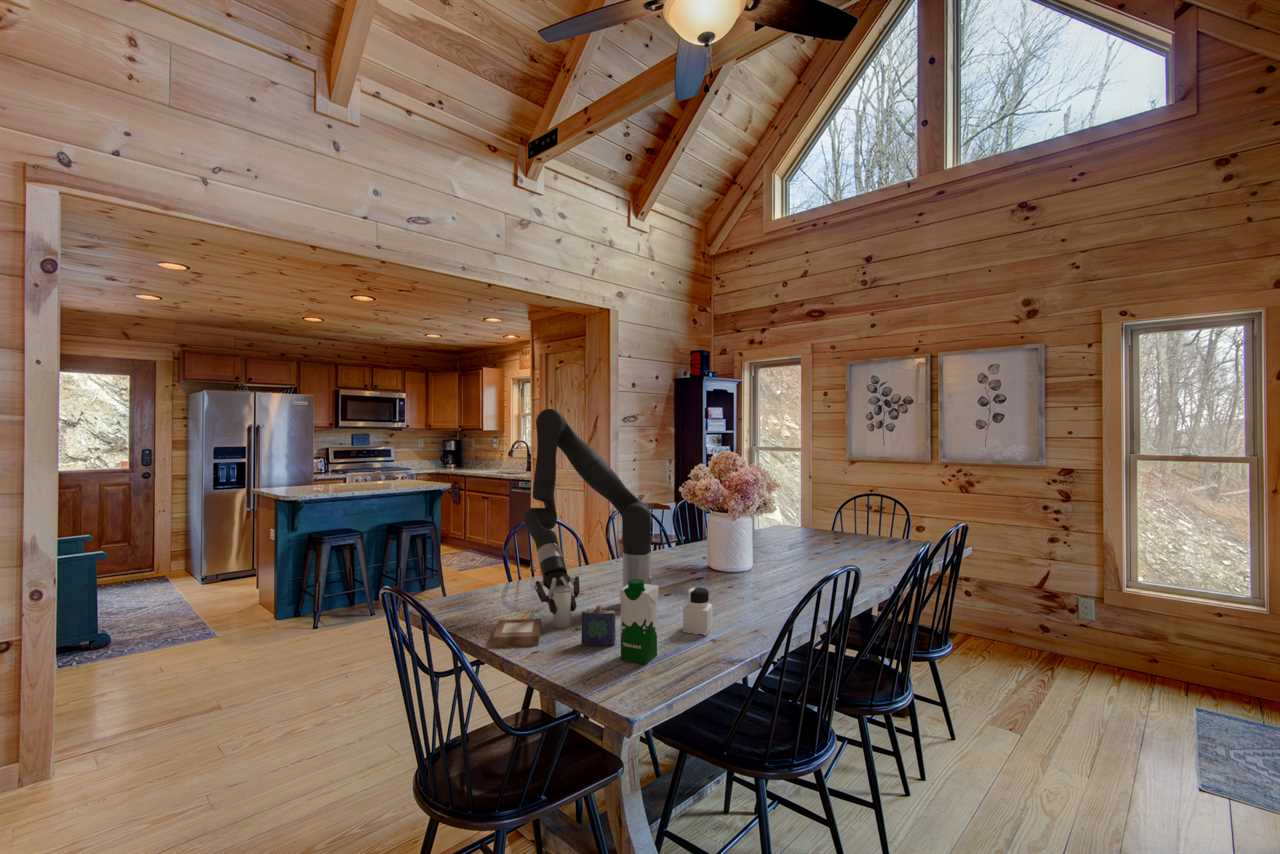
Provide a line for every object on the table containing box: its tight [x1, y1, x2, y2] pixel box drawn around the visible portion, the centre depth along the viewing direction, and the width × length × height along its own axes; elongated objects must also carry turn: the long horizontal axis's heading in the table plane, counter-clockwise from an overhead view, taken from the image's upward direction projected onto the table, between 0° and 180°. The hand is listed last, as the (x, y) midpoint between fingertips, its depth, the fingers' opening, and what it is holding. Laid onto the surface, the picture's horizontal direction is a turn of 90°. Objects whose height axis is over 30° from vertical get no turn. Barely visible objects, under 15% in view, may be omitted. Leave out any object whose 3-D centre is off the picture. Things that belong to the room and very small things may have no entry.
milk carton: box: [619, 579, 660, 666], centre depth 150 cm, size 9×9×20 cm
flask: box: [580, 604, 617, 647], centre depth 159 cm, size 9×3×11 cm, turn 88°
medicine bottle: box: [682, 586, 714, 636], centre depth 170 cm, size 7×7×12 cm
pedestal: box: [492, 618, 542, 647], centre depth 165 cm, size 12×14×3 cm
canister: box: [552, 585, 572, 630], centre depth 174 cm, size 5×5×11 cm
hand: (564, 611), depth 172 cm, fingers closed on canister, 5 cm apart
